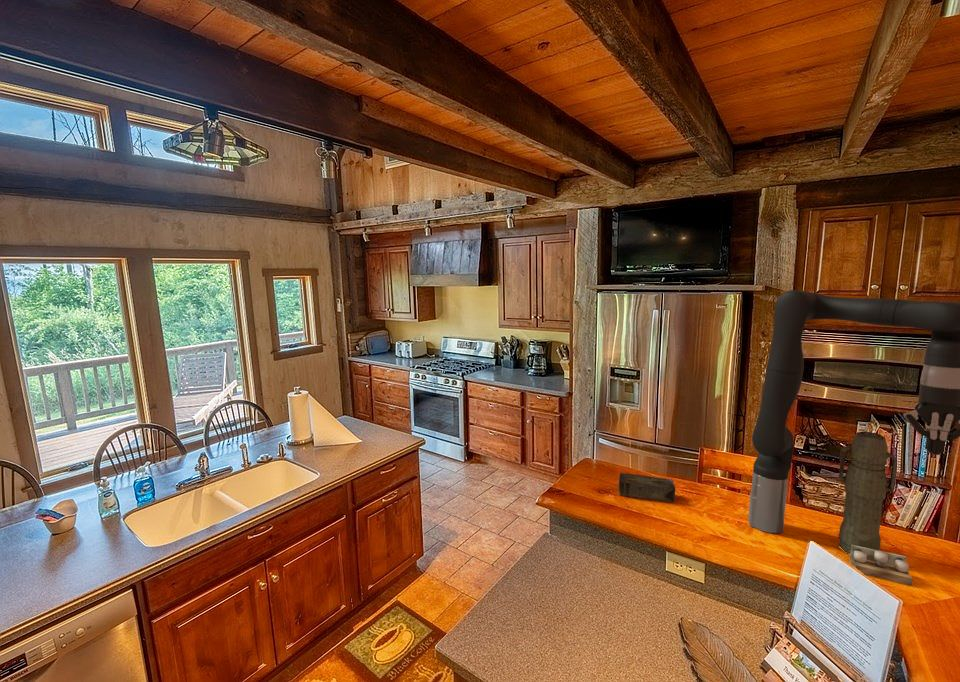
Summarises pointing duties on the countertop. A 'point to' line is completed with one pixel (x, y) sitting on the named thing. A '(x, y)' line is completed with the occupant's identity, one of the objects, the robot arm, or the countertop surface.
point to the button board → (883, 573)
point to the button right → (901, 566)
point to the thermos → (864, 490)
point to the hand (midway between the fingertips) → (933, 453)
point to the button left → (860, 556)
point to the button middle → (880, 558)
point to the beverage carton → (646, 487)
